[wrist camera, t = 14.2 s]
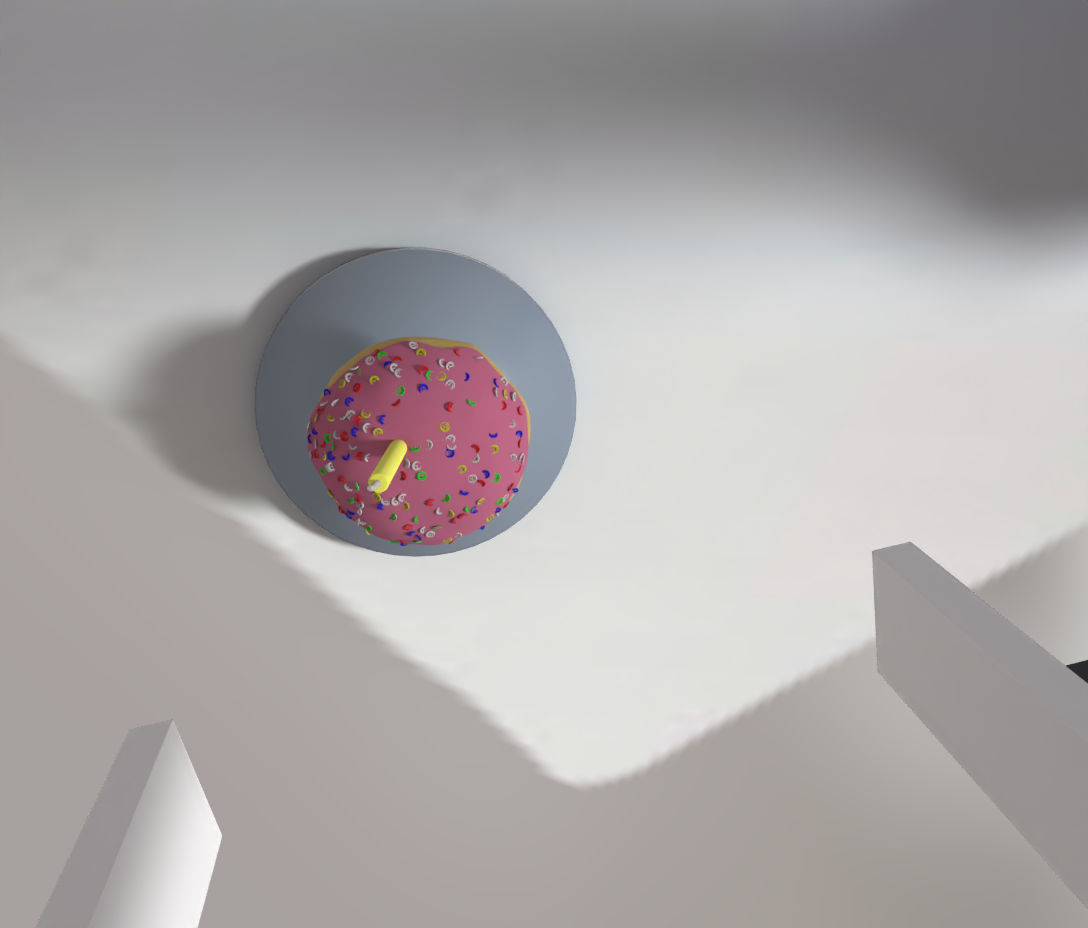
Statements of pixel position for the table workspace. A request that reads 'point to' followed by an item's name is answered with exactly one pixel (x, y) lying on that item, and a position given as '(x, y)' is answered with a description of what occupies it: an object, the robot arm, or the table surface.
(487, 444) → the cupcake
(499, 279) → the slate plate
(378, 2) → the table surface
